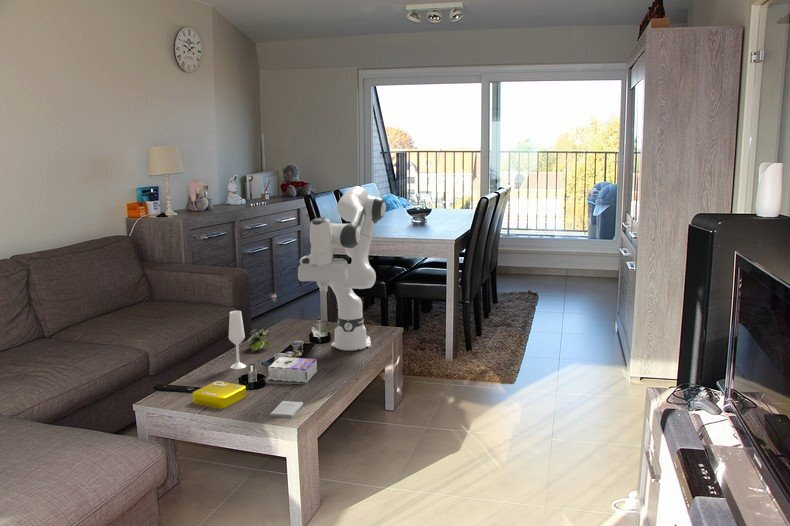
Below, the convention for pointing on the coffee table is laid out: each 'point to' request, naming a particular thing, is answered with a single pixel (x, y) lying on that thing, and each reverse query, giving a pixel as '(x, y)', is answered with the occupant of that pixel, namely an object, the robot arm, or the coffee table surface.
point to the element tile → (219, 394)
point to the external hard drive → (286, 409)
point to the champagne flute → (236, 335)
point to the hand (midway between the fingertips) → (323, 291)
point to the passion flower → (258, 339)
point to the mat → (281, 382)
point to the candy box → (292, 369)
